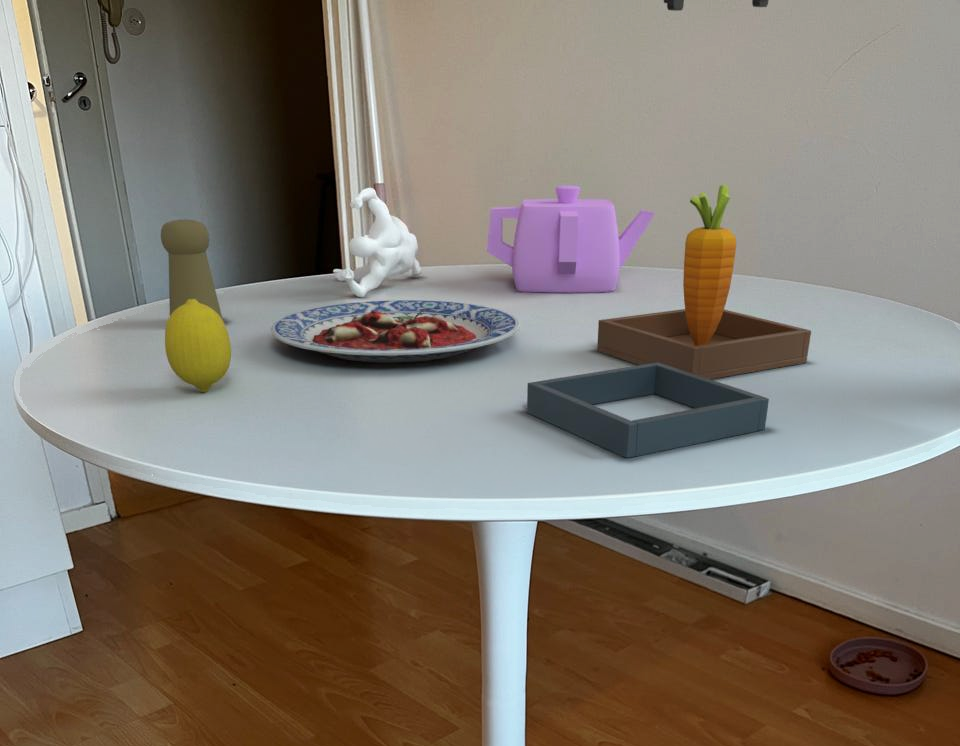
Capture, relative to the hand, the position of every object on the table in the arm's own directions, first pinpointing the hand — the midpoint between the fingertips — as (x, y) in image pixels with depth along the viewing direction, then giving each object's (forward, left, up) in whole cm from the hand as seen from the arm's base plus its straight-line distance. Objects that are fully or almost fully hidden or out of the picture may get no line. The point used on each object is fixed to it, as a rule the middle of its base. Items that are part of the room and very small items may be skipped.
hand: (716, 8), depth 95 cm
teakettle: (-7, -33, -30) cm, 45 cm away
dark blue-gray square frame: (+24, +23, -30) cm, 45 cm away
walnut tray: (+5, +9, -30) cm, 32 cm away
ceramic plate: (+29, -12, -30) cm, 44 cm away
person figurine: (+16, -43, -30) cm, 55 cm away
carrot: (+5, +8, -30) cm, 31 cm away
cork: (+44, -34, -30) cm, 63 cm away
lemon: (+52, -4, -30) cm, 60 cm away
